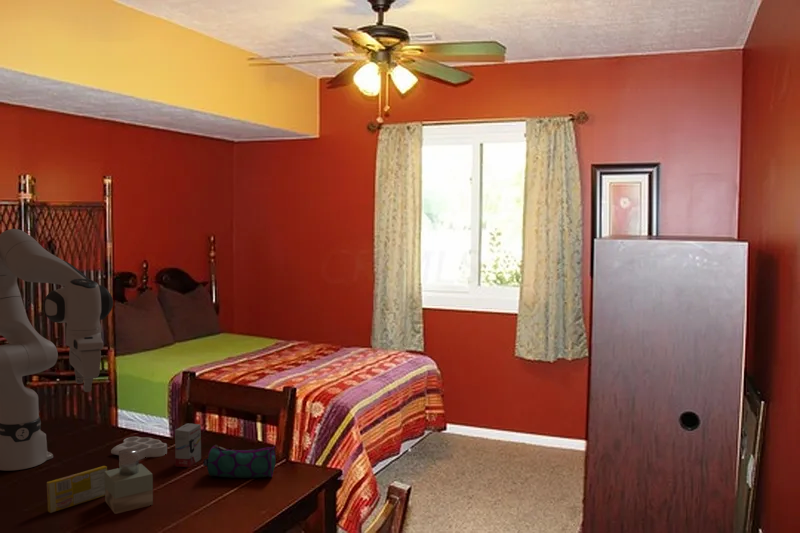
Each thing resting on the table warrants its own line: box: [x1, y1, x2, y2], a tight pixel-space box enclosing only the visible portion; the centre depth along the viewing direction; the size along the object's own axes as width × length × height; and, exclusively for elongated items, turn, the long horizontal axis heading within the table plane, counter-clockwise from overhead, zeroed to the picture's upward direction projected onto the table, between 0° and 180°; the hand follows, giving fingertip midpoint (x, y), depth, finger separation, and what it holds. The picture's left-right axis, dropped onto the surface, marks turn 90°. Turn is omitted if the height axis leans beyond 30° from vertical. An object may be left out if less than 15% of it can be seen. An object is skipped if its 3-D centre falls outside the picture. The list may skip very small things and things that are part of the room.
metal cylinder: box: [118, 448, 140, 476], centre depth 190 cm, size 5×5×6 cm
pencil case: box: [202, 444, 277, 479], centre depth 211 cm, size 21×9×10 cm, turn 88°
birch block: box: [104, 488, 154, 515], centre depth 190 cm, size 10×10×4 cm
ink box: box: [174, 422, 202, 468], centre depth 222 cm, size 9×5×12 cm, turn 168°
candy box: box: [46, 465, 108, 514], centre depth 190 cm, size 16×2×8 cm, turn 141°
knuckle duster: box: [110, 436, 168, 461], centre depth 232 cm, size 3×18×15 cm
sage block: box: [104, 463, 154, 499], centre depth 190 cm, size 10×10×4 cm
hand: (83, 387), depth 192 cm, fingers open, 8 cm apart
